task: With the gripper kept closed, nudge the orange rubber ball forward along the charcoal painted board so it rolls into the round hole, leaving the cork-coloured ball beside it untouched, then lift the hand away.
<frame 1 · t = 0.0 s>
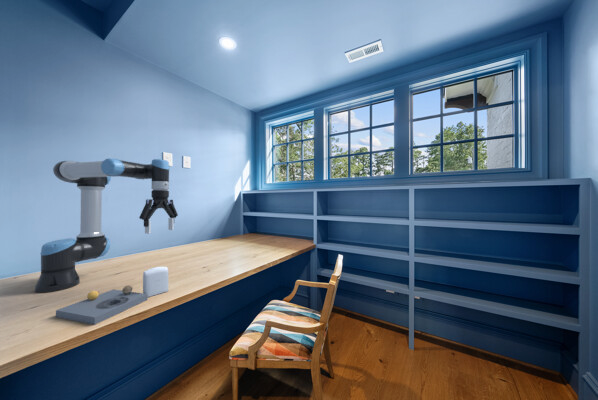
hand: (160, 231, 111), 28 cm above the table, fingers open, 13 cm apart
cork ball: (127, 289, 96), point 4 cm above the table, touching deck
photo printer: (156, 294, 102), on the table
ball: (93, 295, 90), point 4 cm above the table, touching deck
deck: (105, 307, 88), on the table
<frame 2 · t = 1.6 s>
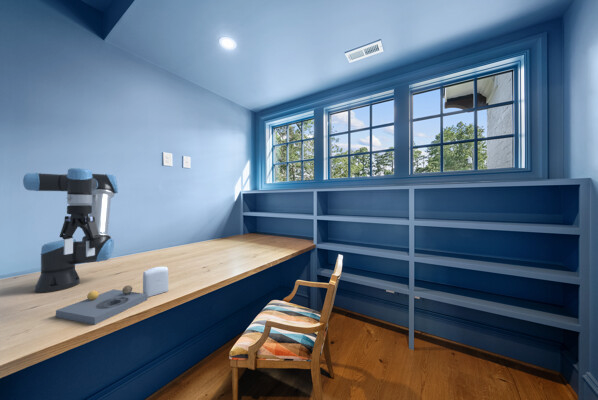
hand: (79, 254, 93), 20 cm above the table, fingers open, 12 cm apart
nothing on the table moved.
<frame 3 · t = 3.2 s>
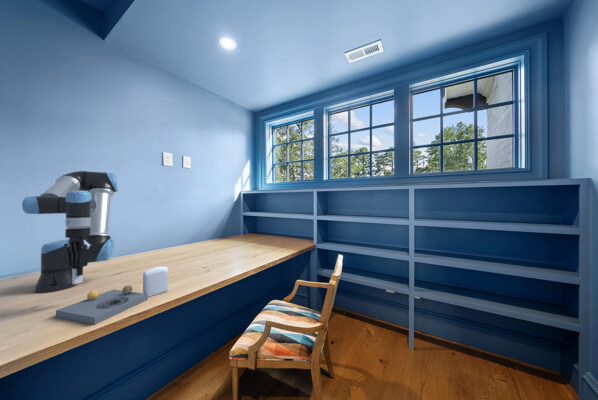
hand: (77, 283, 92), 9 cm above the table, fingers closed
nothing on the table moved.
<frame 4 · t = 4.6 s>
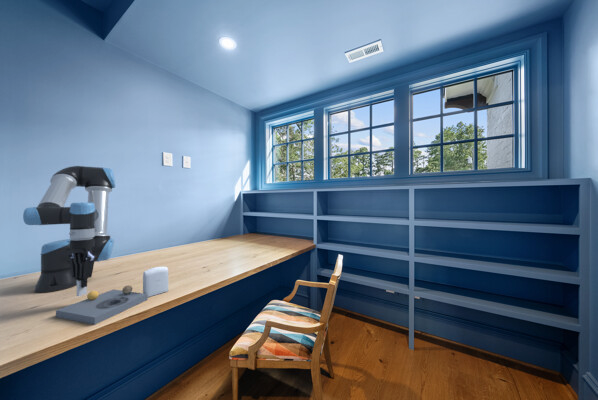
hand: (81, 294, 91), 4 cm above the table, fingers closed
nothing on the table moved.
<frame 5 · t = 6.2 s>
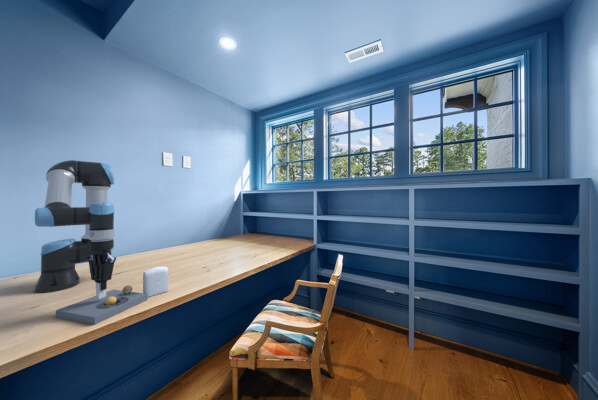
hand: (101, 297, 89), 4 cm above the table, fingers closed
ball: (110, 301, 87), point 3 cm above the table, tilted 20°
everything else where it was.
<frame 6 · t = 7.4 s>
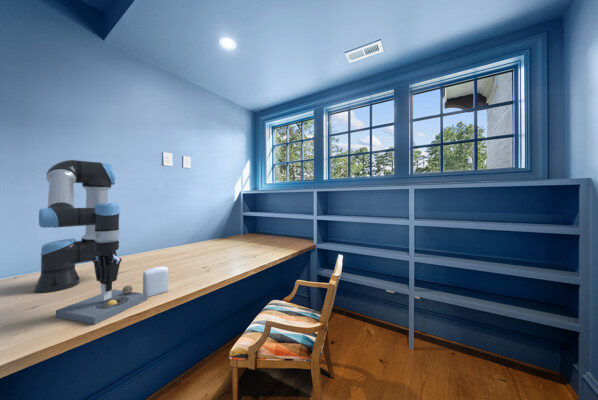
hand: (106, 298, 88), 4 cm above the table, fingers closed
ball: (111, 304, 87), point 2 cm above the table
everything else where it was.
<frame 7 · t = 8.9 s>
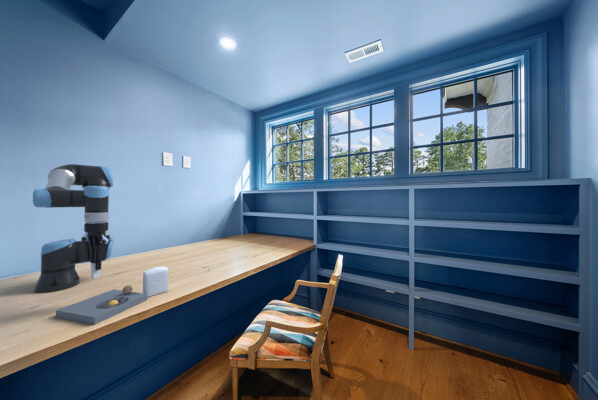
hand: (96, 277, 93), 11 cm above the table, fingers closed
ball: (112, 304, 87), point 2 cm above the table, tilted 26°
everything else where it was.
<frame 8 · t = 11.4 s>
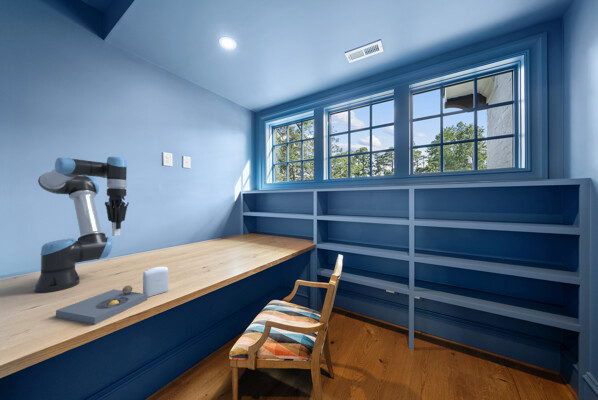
hand: (116, 235, 108), 26 cm above the table, fingers closed
ball: (113, 304, 87), point 2 cm above the table, tilted 38°
everything else where it was.
at the end: ball 0.6 cm from the target spot in the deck, point 1.7 cm above the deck's base; cork ball moved 0.1 cm from its start; ball touching table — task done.
